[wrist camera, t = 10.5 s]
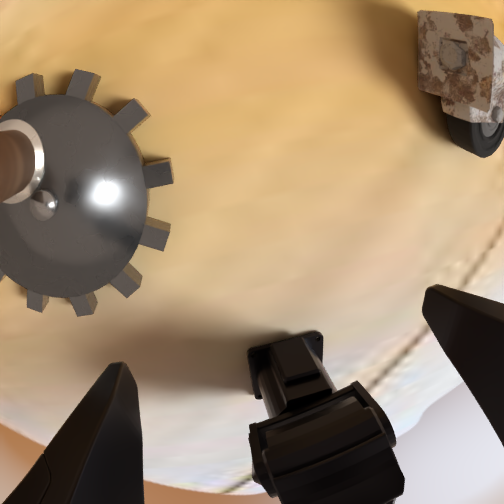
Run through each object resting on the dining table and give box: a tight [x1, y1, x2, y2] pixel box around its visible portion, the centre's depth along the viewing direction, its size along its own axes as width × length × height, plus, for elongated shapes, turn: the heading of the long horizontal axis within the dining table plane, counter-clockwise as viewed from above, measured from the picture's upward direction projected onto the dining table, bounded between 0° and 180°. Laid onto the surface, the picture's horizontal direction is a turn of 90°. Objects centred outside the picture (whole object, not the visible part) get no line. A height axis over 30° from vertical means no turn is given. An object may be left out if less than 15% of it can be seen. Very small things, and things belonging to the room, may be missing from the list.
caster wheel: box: [417, 10, 504, 158], centre depth 17 cm, size 7×11×10 cm
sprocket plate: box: [0, 69, 174, 317], centre depth 16 cm, size 16×16×2 cm
